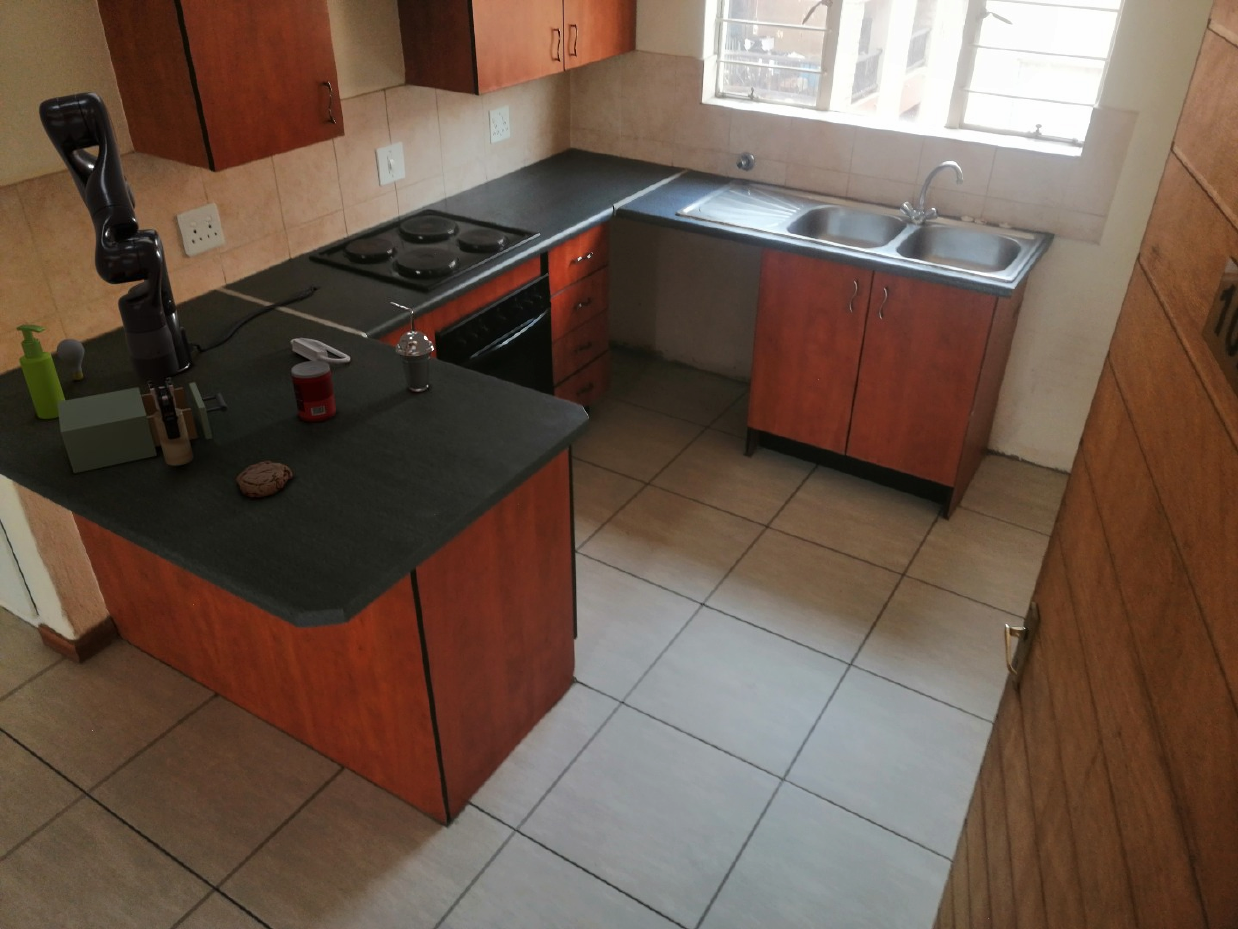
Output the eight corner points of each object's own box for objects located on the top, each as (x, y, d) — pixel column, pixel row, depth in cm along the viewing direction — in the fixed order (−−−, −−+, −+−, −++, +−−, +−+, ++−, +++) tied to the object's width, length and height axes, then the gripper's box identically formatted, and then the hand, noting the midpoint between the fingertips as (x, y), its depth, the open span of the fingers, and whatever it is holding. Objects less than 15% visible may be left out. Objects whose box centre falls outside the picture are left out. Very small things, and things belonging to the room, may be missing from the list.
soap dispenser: (59, 420, 199) (31, 332, 189) (31, 417, 200) (1, 329, 191) (78, 408, 204) (52, 322, 194) (50, 405, 205) (23, 319, 196)
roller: (182, 450, 185) (169, 398, 179) (198, 457, 183) (186, 404, 177) (159, 461, 181) (145, 407, 175) (176, 468, 179) (162, 414, 173)
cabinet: (148, 425, 198) (138, 387, 193) (157, 455, 187) (146, 415, 182) (69, 441, 191) (57, 401, 187) (74, 473, 180) (60, 432, 176)
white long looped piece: (355, 368, 228) (357, 353, 227) (326, 370, 222) (327, 354, 221) (312, 346, 240) (313, 332, 239) (282, 347, 234) (283, 332, 233)
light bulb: (97, 376, 219) (86, 336, 214) (79, 386, 214) (66, 345, 209) (79, 373, 220) (67, 333, 215) (60, 382, 216) (47, 342, 211)
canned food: (344, 410, 205) (337, 364, 200) (319, 425, 199) (311, 378, 193) (316, 403, 208) (308, 357, 202) (291, 418, 201) (282, 371, 196)
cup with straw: (412, 399, 210) (402, 314, 200) (391, 386, 216) (381, 303, 206) (444, 389, 215) (437, 306, 205) (423, 376, 221) (415, 295, 211)
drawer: (222, 408, 203) (216, 378, 200) (234, 433, 193) (227, 402, 190) (132, 425, 196) (124, 395, 192) (139, 453, 185) (131, 421, 182)
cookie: (240, 502, 172) (237, 488, 170) (236, 475, 180) (233, 462, 178) (296, 492, 175) (294, 478, 174) (290, 466, 184) (287, 452, 182)
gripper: (179, 359, 167) (199, 443, 175) (168, 332, 178) (188, 413, 186) (133, 367, 164) (155, 452, 172) (125, 339, 174) (146, 421, 183)
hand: (172, 431), depth 179 cm, fingers closed on roller, 5 cm apart
